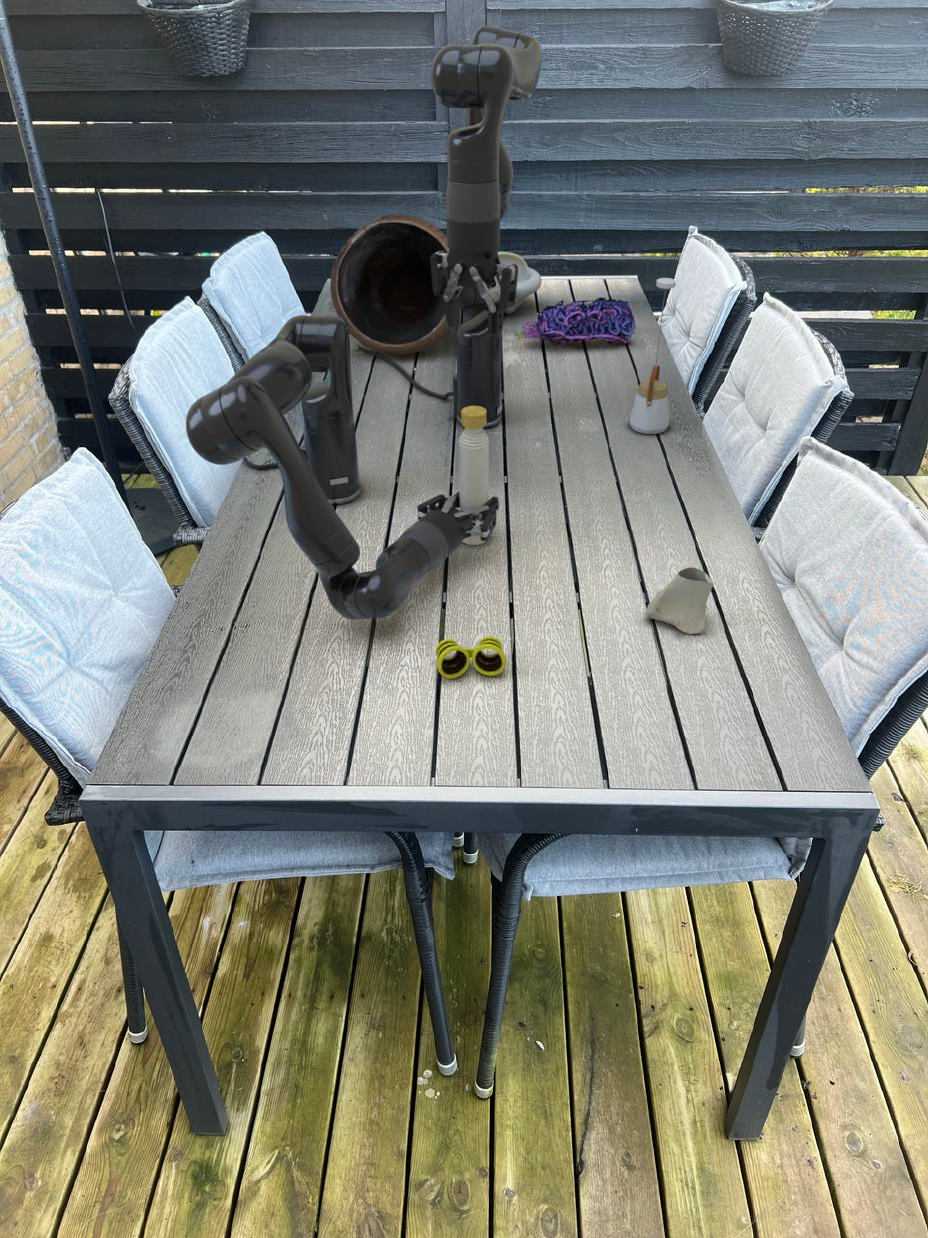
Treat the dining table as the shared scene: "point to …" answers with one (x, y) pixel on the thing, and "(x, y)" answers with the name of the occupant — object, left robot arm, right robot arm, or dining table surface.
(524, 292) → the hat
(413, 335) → the pot
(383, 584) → the left robot arm
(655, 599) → the grey flared hollow piece
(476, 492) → the bottle
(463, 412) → the cap
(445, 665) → the opera glasses
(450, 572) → the dining table surface
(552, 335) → the decorative ornament
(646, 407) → the pendant light
